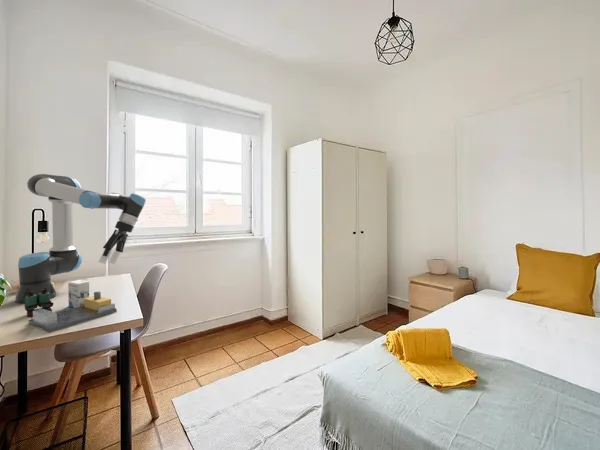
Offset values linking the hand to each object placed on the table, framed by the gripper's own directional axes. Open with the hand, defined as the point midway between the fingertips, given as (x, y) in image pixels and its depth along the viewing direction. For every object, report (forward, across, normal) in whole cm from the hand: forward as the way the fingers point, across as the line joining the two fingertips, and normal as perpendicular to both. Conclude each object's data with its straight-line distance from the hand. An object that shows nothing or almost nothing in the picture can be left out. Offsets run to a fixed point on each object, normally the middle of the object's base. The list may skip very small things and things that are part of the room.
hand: (107, 263), depth 134 cm
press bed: (+23, -14, -2) cm, 27 cm away
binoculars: (+28, -4, +14) cm, 32 cm away
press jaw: (+19, -8, -7) cm, 21 cm away
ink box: (+22, +2, +3) cm, 23 cm away
